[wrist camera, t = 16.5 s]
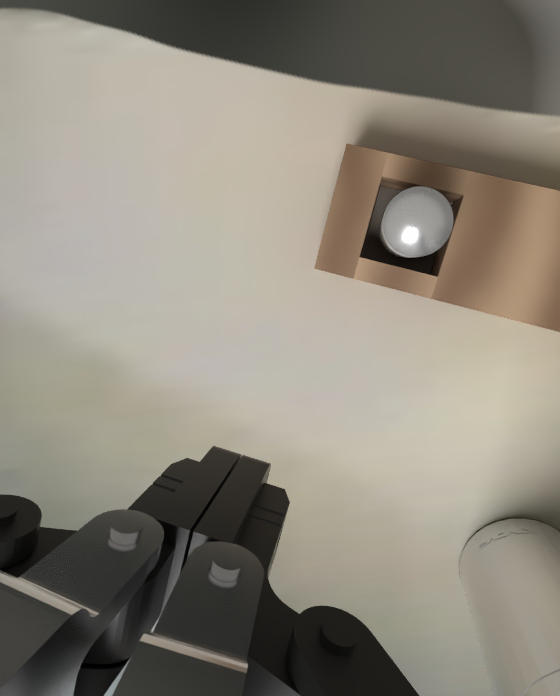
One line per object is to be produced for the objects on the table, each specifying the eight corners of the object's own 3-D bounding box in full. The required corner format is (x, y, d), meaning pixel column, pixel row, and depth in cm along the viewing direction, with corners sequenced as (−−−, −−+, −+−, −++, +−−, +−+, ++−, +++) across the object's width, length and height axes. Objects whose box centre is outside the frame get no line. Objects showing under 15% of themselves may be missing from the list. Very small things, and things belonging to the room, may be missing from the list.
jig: (709, 237, 32) (755, 234, 28) (658, 354, 34) (695, 366, 30) (348, 156, 35) (346, 143, 32) (319, 267, 37) (314, 268, 33)
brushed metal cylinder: (443, 243, 35) (464, 238, 28) (392, 266, 36) (398, 268, 29) (421, 193, 35) (437, 173, 27) (370, 218, 36) (371, 206, 28)
